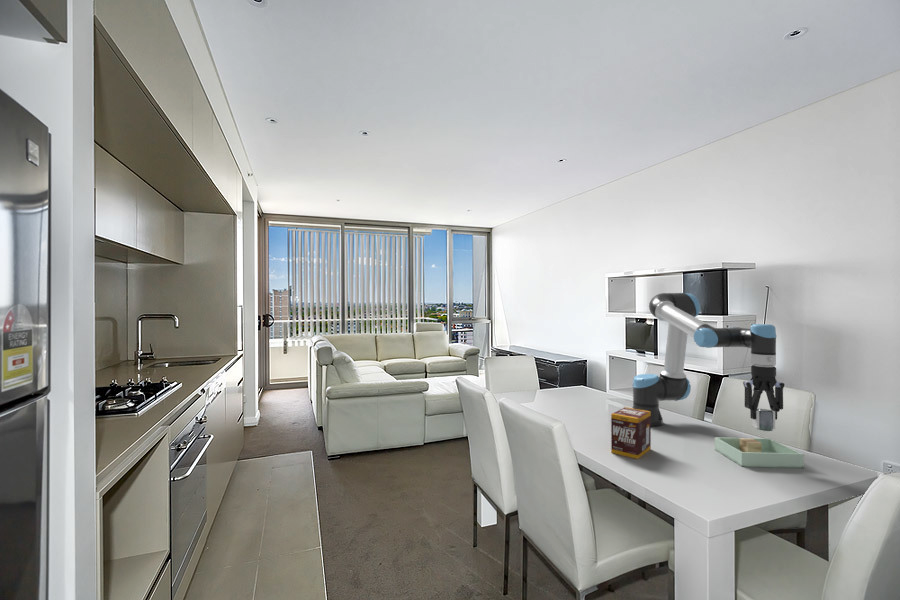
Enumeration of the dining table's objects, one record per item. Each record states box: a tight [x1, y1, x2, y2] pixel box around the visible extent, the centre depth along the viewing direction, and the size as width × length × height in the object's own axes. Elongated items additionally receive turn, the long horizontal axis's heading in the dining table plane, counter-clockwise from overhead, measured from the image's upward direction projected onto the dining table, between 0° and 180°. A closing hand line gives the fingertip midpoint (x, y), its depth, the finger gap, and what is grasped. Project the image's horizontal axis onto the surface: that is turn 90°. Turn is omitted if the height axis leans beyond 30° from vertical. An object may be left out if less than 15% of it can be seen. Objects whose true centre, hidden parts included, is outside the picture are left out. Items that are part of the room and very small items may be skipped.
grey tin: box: [755, 408, 774, 432], centre depth 157 cm, size 5×5×7 cm
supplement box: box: [610, 407, 652, 460], centre depth 169 cm, size 10×15×16 cm
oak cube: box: [739, 437, 762, 453], centre depth 164 cm, size 5×5×5 cm
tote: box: [714, 436, 805, 469], centre depth 161 cm, size 17×21×5 cm
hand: (763, 427), depth 157 cm, fingers closed on grey tin, 5 cm apart
